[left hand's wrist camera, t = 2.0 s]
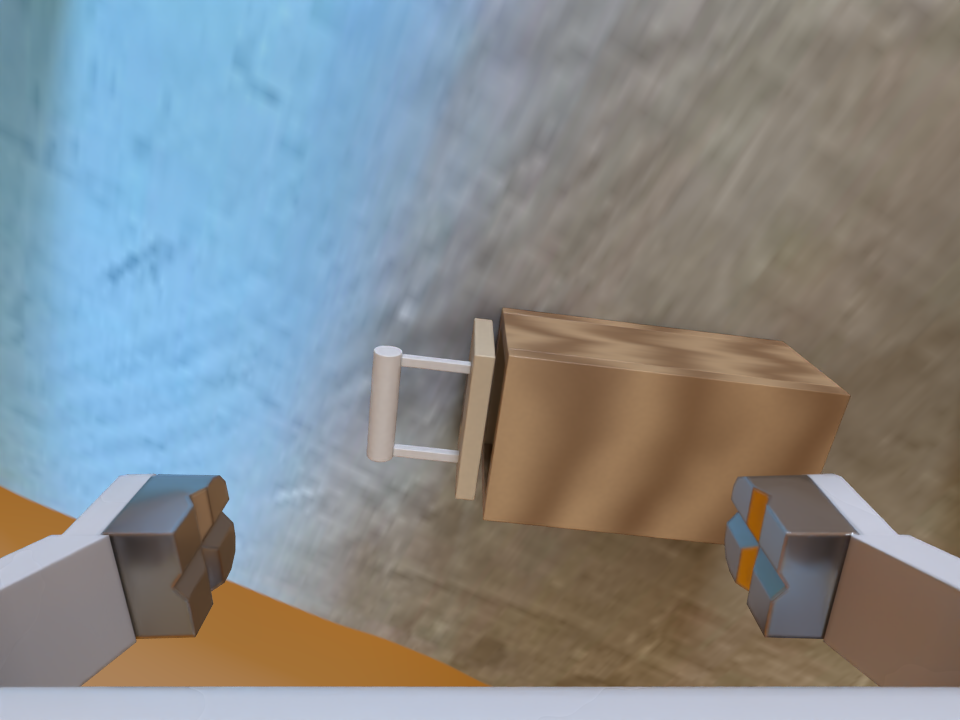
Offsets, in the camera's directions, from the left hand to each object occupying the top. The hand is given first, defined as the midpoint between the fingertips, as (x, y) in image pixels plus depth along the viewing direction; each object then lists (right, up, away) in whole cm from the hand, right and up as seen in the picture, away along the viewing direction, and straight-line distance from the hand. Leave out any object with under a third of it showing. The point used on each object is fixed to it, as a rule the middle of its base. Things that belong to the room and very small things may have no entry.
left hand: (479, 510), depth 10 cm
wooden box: (+10, 0, +35) cm, 36 cm away
